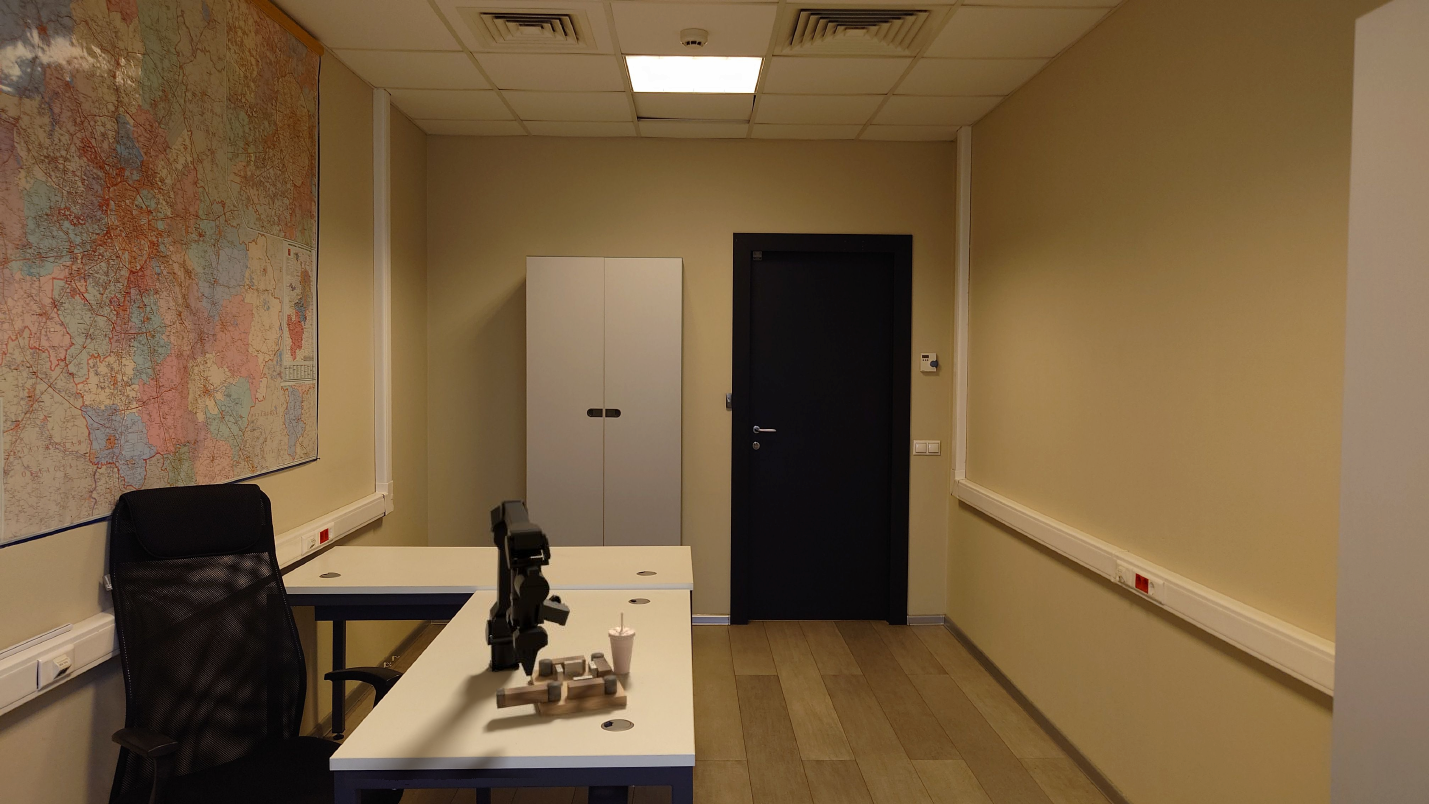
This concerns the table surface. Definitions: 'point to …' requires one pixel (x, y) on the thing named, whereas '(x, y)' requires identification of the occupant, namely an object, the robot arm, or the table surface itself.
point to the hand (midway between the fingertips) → (526, 667)
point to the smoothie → (621, 647)
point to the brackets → (575, 670)
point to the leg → (528, 694)
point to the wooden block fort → (580, 687)
